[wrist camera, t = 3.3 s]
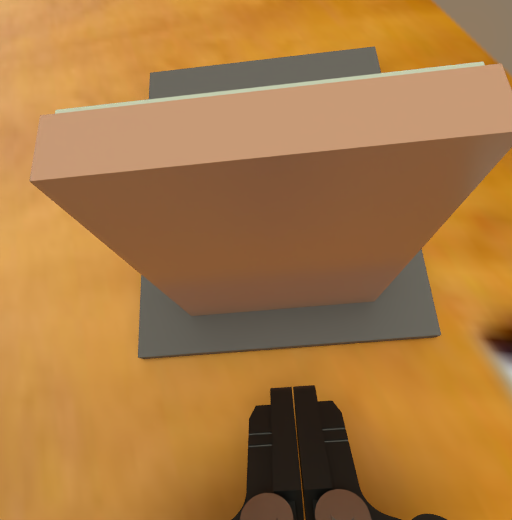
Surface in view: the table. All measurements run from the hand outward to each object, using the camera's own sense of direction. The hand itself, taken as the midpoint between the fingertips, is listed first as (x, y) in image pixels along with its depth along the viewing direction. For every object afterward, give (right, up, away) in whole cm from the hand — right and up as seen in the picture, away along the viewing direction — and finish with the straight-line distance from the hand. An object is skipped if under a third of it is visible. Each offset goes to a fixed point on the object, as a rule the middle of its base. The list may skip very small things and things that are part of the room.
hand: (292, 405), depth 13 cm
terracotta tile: (0, +3, +8) cm, 9 cm away
